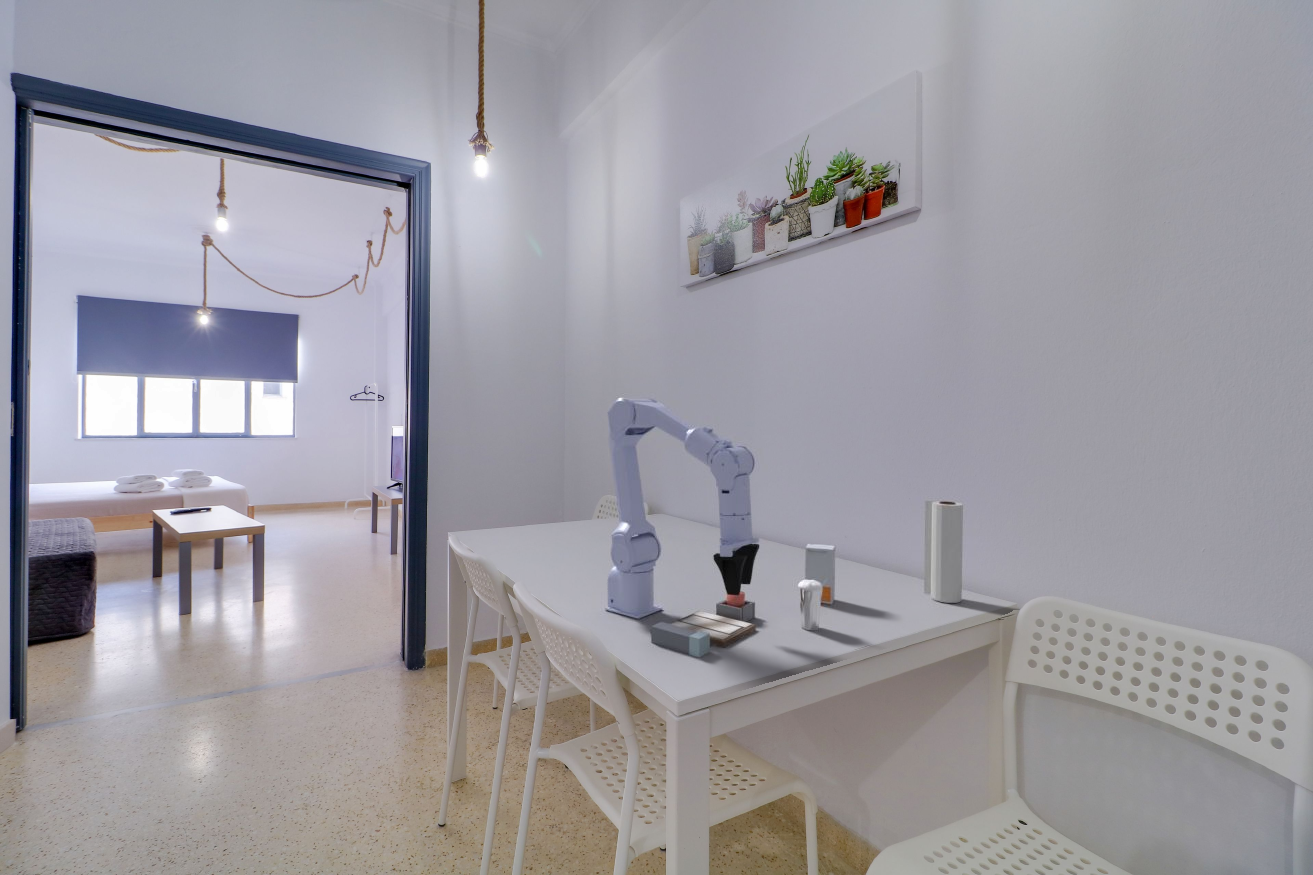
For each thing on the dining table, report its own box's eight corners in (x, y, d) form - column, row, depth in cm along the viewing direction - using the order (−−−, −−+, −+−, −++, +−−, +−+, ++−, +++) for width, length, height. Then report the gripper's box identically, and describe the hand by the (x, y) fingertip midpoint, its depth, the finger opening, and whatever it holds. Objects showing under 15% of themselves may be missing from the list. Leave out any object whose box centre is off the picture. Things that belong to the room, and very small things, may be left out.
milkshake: (822, 634, 111) (822, 581, 111) (794, 629, 114) (794, 576, 114) (829, 627, 115) (830, 575, 115) (802, 622, 118) (802, 571, 118)
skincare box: (804, 601, 131) (804, 547, 130) (807, 596, 135) (807, 543, 134) (833, 604, 128) (833, 549, 128) (835, 599, 132) (835, 545, 132)
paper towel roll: (966, 604, 129) (968, 504, 128) (937, 603, 129) (939, 504, 128) (951, 593, 136) (952, 499, 135) (924, 593, 136) (925, 499, 135)
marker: (646, 641, 108) (646, 624, 108) (657, 636, 111) (657, 619, 111) (699, 657, 101) (698, 638, 101) (709, 651, 104) (709, 633, 104)
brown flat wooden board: (665, 630, 114) (665, 624, 113) (699, 615, 122) (699, 609, 122) (723, 647, 105) (723, 640, 105) (755, 629, 114) (755, 623, 114)
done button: (723, 608, 120) (723, 593, 120) (732, 603, 123) (732, 589, 123) (738, 611, 118) (738, 596, 118) (748, 607, 121) (748, 592, 121)
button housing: (716, 618, 120) (716, 603, 120) (731, 611, 125) (731, 596, 125) (740, 624, 117) (740, 609, 117) (755, 616, 121) (755, 602, 121)
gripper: (746, 519, 100) (751, 600, 100) (766, 508, 114) (769, 580, 114) (706, 519, 103) (710, 598, 103) (730, 508, 117) (733, 578, 117)
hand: (739, 588), depth 109 cm, fingers open, 7 cm apart
